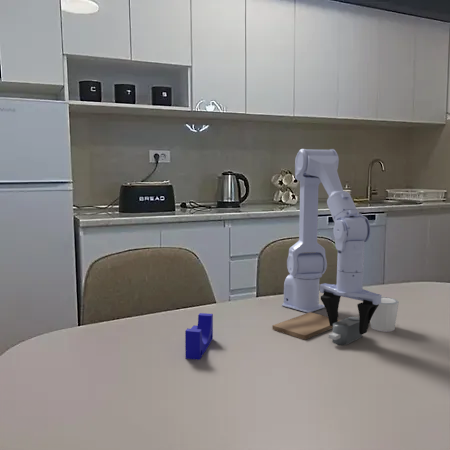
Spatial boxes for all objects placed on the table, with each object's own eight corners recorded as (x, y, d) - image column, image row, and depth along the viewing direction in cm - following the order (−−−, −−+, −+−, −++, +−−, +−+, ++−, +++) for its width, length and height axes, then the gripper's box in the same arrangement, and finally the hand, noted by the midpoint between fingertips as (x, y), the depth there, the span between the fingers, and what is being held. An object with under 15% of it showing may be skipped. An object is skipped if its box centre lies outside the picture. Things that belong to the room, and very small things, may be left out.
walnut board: (272, 329, 111) (272, 325, 111) (310, 315, 122) (310, 312, 122) (304, 339, 105) (304, 335, 105) (341, 324, 115) (341, 320, 115)
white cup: (393, 323, 116) (394, 296, 116) (400, 333, 110) (402, 304, 109) (365, 322, 117) (366, 295, 116) (371, 331, 110) (372, 303, 109)
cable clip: (193, 338, 106) (193, 312, 105) (212, 339, 105) (212, 313, 104) (178, 358, 94) (178, 330, 93) (199, 360, 93) (199, 331, 93)
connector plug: (324, 344, 102) (325, 326, 102) (351, 331, 110) (352, 315, 110) (338, 348, 100) (339, 330, 99) (364, 335, 108) (365, 319, 107)
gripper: (312, 267, 106) (311, 325, 108) (371, 278, 96) (368, 341, 97) (329, 263, 111) (328, 318, 113) (387, 273, 101) (384, 333, 102)
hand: (347, 328), depth 105 cm, fingers open, 7 cm apart
